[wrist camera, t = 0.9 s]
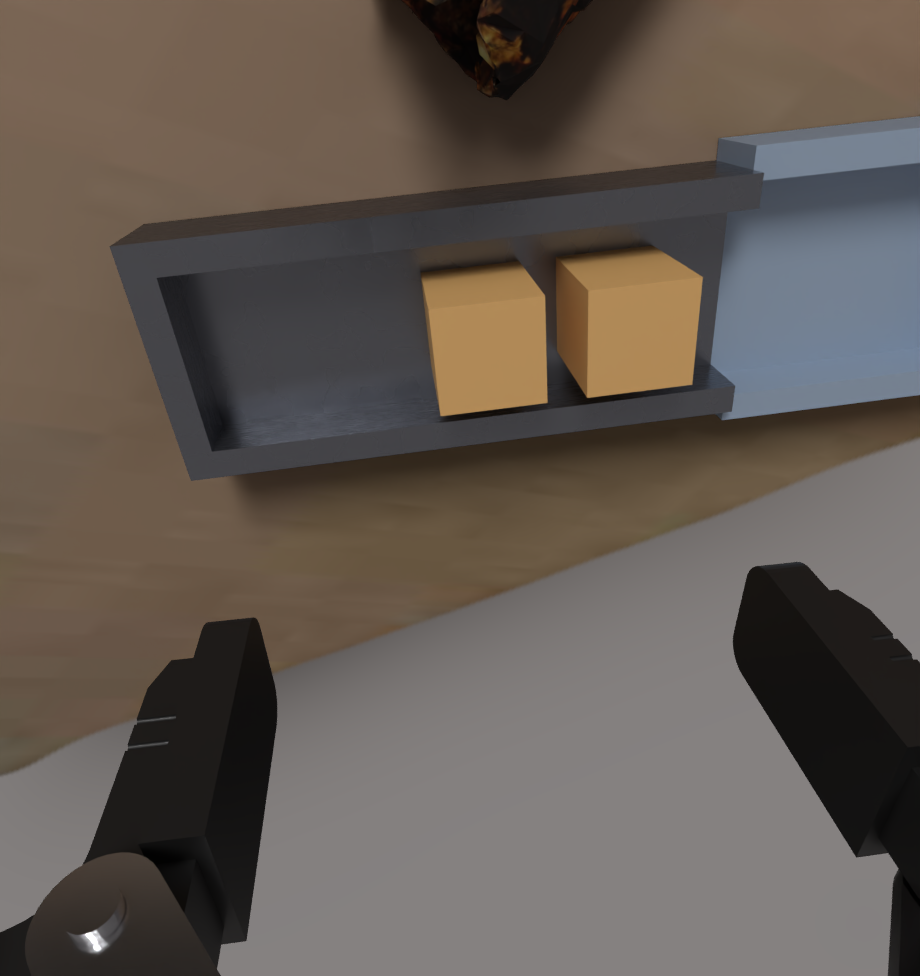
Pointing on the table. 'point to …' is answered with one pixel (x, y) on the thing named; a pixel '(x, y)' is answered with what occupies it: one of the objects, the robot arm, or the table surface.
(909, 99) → the table surface
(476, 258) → the rail
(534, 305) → the tan cardboard cube
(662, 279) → the cardboard box
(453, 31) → the dark wooden branch
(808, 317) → the tray
